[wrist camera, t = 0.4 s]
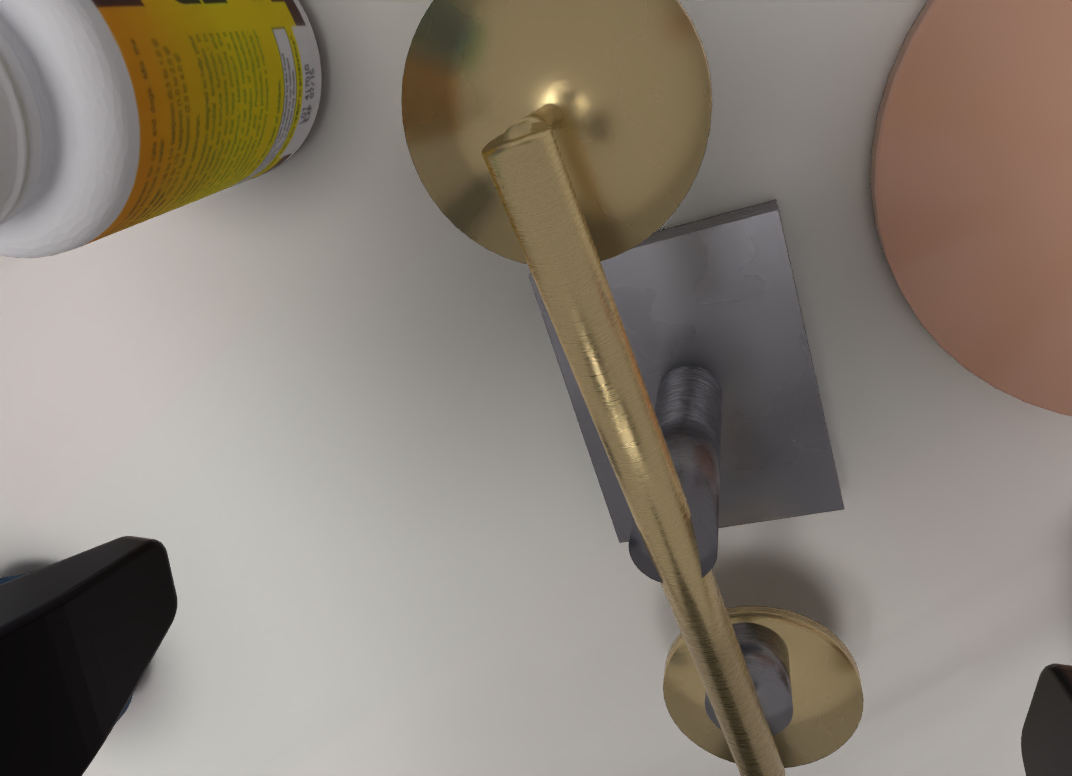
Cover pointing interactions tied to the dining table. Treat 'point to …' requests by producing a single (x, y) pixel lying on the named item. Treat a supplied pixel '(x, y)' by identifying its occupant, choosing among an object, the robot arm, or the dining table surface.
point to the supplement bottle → (142, 109)
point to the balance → (649, 328)
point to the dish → (984, 188)
